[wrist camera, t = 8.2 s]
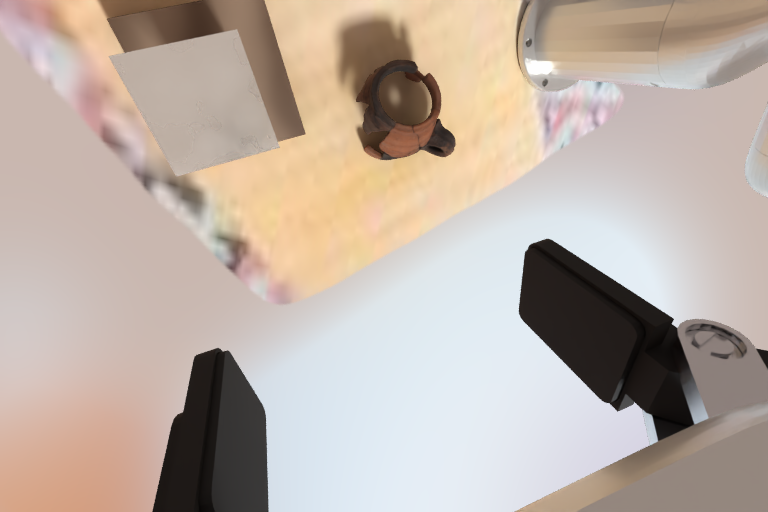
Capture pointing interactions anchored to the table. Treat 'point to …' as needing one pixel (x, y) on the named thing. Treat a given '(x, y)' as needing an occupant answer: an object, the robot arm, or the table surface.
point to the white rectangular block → (198, 100)
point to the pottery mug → (402, 136)
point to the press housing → (216, 15)
